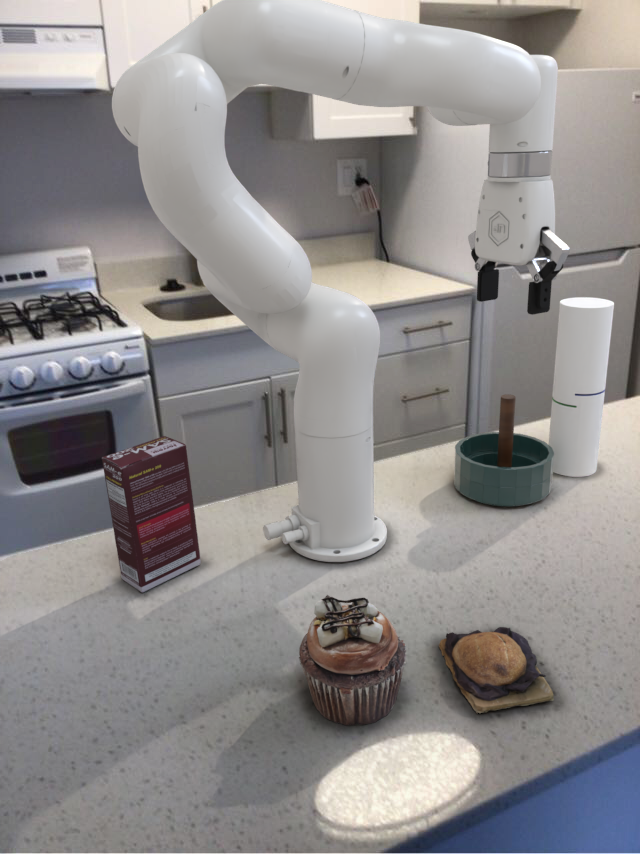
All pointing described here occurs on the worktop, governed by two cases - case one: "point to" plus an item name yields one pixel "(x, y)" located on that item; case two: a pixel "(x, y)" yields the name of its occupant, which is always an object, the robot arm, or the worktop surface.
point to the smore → (495, 669)
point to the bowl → (503, 470)
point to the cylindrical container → (579, 384)
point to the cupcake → (352, 661)
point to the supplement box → (152, 511)
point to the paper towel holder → (506, 430)
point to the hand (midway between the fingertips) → (511, 306)
